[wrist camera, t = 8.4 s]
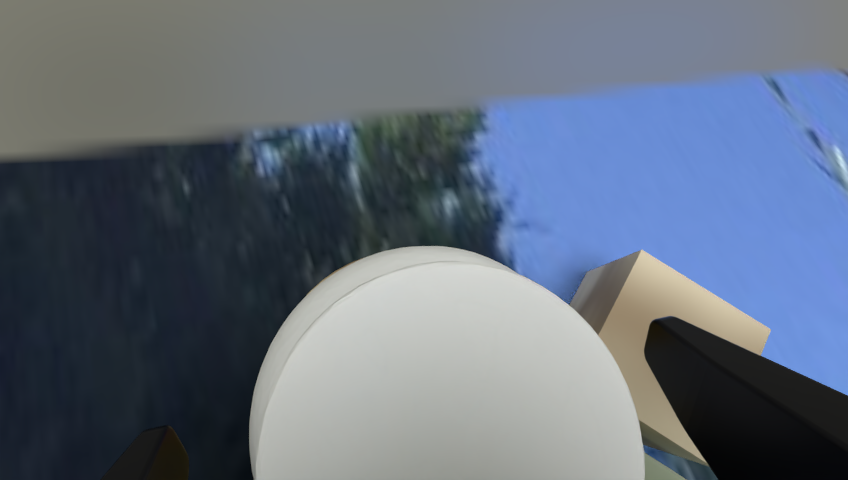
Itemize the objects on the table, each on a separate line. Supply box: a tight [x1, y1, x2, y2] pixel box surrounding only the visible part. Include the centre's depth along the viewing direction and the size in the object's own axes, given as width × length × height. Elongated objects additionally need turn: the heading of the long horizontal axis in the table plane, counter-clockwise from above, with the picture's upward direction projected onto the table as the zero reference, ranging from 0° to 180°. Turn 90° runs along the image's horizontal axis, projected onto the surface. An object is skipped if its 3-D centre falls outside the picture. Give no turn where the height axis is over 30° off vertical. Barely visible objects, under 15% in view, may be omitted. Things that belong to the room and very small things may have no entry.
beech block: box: [569, 250, 771, 466], centre depth 18 cm, size 5×5×4 cm
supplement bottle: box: [249, 246, 645, 480], centre depth 12 cm, size 7×7×13 cm
